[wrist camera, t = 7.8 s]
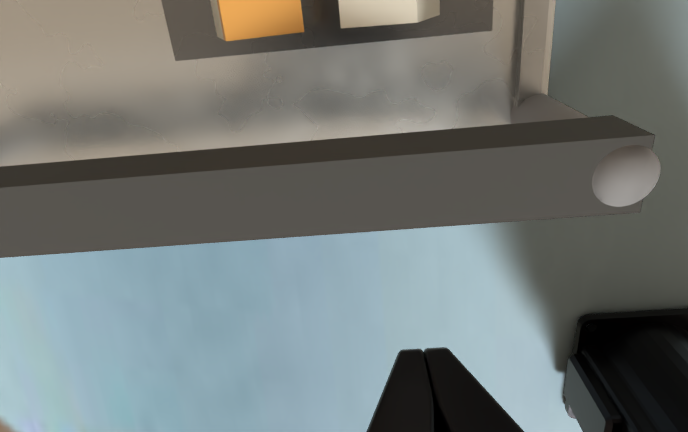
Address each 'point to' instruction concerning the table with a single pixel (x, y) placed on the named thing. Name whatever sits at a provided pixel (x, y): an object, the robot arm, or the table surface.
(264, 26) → the paddle
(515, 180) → the gray bar rack
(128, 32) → the panel
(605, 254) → the table surface
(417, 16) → the paddle on
